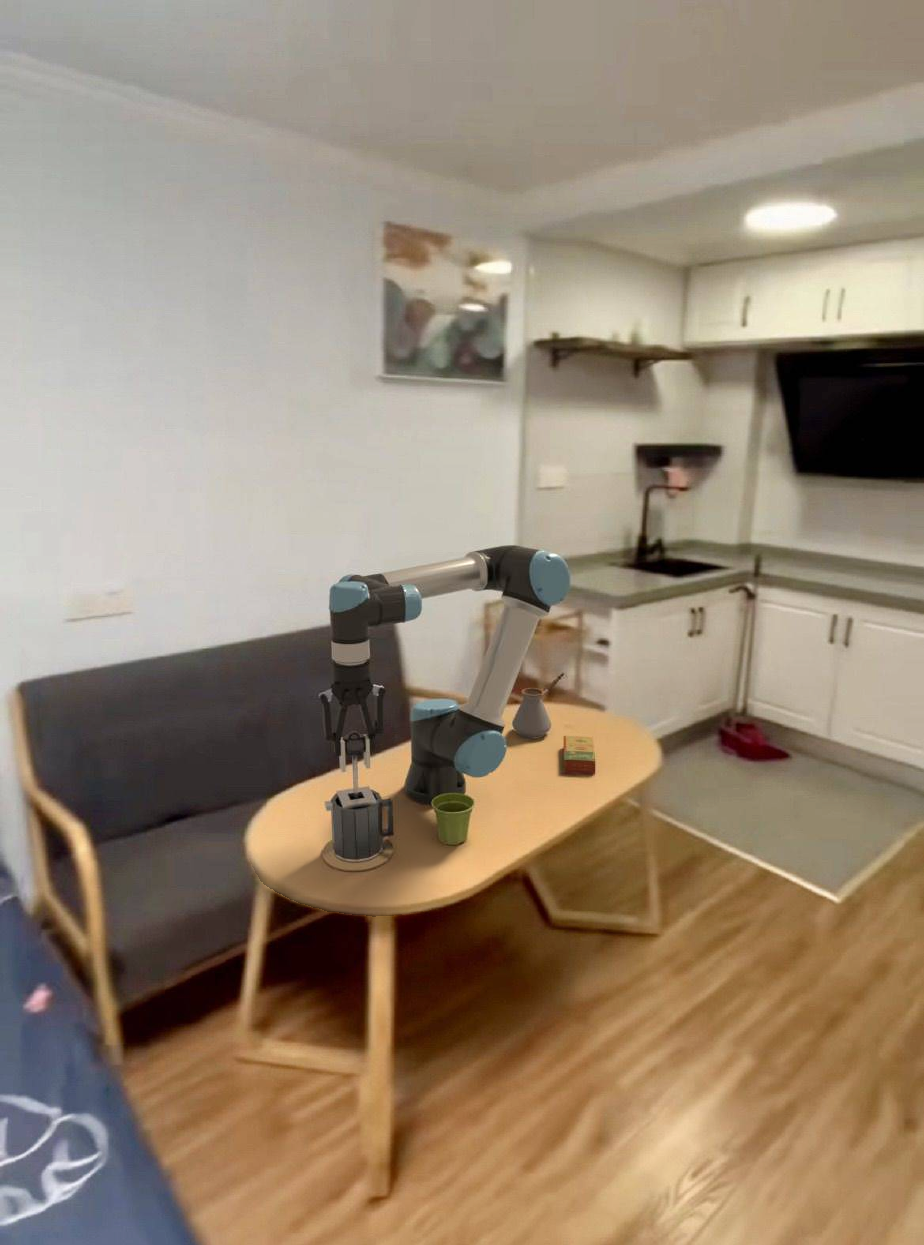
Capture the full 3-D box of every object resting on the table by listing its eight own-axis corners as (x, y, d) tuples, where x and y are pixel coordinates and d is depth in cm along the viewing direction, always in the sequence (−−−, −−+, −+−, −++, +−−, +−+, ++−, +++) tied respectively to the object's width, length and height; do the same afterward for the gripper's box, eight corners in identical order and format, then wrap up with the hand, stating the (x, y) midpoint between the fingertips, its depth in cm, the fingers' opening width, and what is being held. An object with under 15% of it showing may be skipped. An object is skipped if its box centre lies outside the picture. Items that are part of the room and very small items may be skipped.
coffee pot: (534, 744, 224) (536, 694, 220) (503, 733, 232) (504, 684, 228) (578, 723, 239) (580, 676, 235) (548, 713, 247) (549, 668, 243)
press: (385, 829, 178) (383, 775, 175) (402, 864, 164) (401, 806, 161) (317, 840, 173) (314, 785, 170) (329, 877, 160) (326, 818, 156)
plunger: (369, 815, 172) (366, 723, 166) (377, 830, 165) (374, 735, 160) (337, 820, 169) (333, 727, 164) (343, 836, 163) (339, 740, 157)
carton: (592, 750, 221) (593, 736, 220) (595, 775, 206) (596, 760, 204) (562, 748, 222) (563, 734, 221) (563, 773, 206) (564, 758, 205)
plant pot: (434, 826, 180) (434, 791, 177) (476, 828, 179) (476, 793, 176) (428, 848, 171) (428, 811, 168) (472, 850, 170) (472, 813, 167)
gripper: (389, 650, 164) (391, 754, 170) (304, 658, 159) (309, 766, 165) (398, 660, 157) (400, 769, 163) (309, 669, 152) (315, 781, 158)
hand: (355, 767), depth 164 cm, fingers closed on plunger, 4 cm apart
